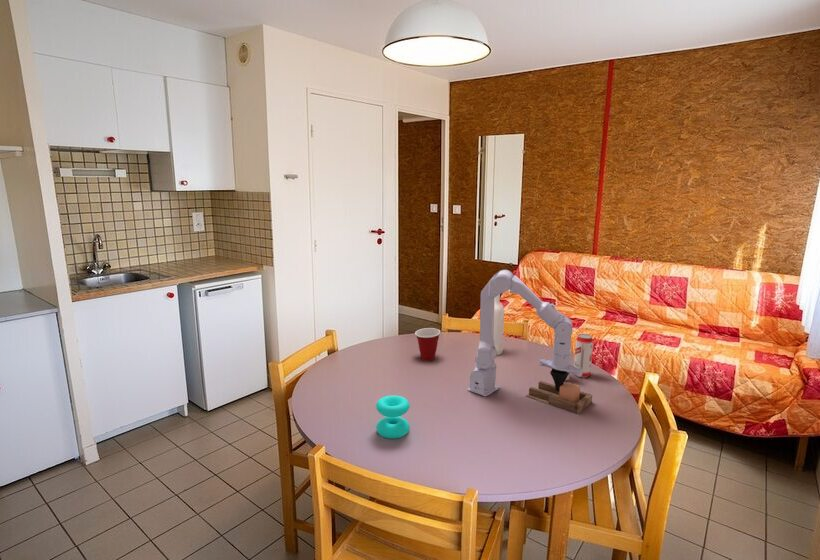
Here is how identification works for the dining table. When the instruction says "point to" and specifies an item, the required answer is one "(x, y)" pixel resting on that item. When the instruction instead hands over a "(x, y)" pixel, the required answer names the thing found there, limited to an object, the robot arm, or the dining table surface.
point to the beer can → (583, 354)
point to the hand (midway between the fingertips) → (558, 390)
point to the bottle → (498, 325)
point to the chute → (551, 397)
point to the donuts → (392, 416)
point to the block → (570, 392)
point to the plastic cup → (427, 342)
